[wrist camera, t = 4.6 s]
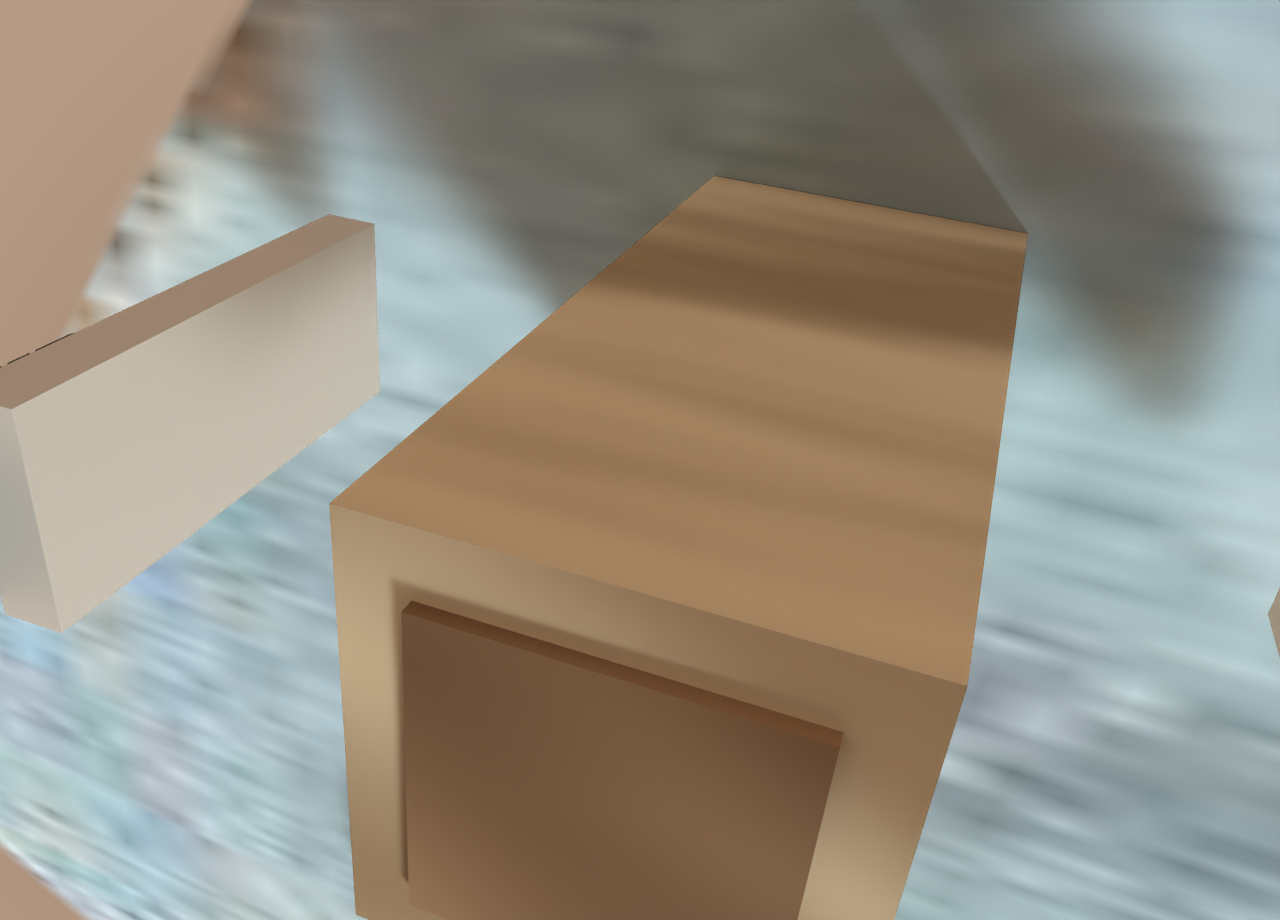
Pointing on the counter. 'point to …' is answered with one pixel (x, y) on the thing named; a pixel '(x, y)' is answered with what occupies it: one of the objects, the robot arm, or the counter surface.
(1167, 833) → the counter surface
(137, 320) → the robot arm
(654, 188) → the counter surface
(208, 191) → the counter surface
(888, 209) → the maple block
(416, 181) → the counter surface
